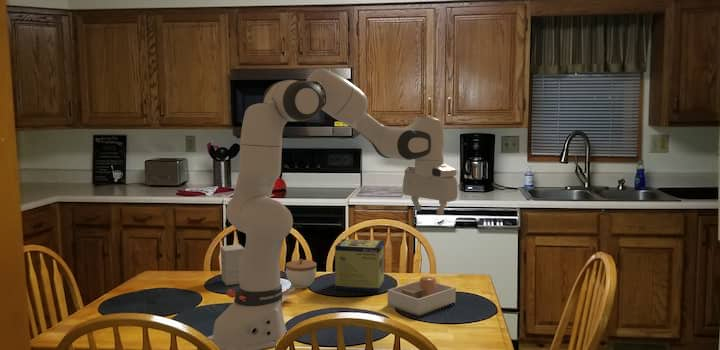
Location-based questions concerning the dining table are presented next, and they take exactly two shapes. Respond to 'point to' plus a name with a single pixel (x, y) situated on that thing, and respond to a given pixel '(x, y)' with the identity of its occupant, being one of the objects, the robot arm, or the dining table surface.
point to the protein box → (359, 265)
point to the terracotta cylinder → (428, 285)
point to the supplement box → (231, 263)
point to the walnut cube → (413, 292)
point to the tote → (421, 299)
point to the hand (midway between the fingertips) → (428, 212)
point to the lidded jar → (301, 272)
